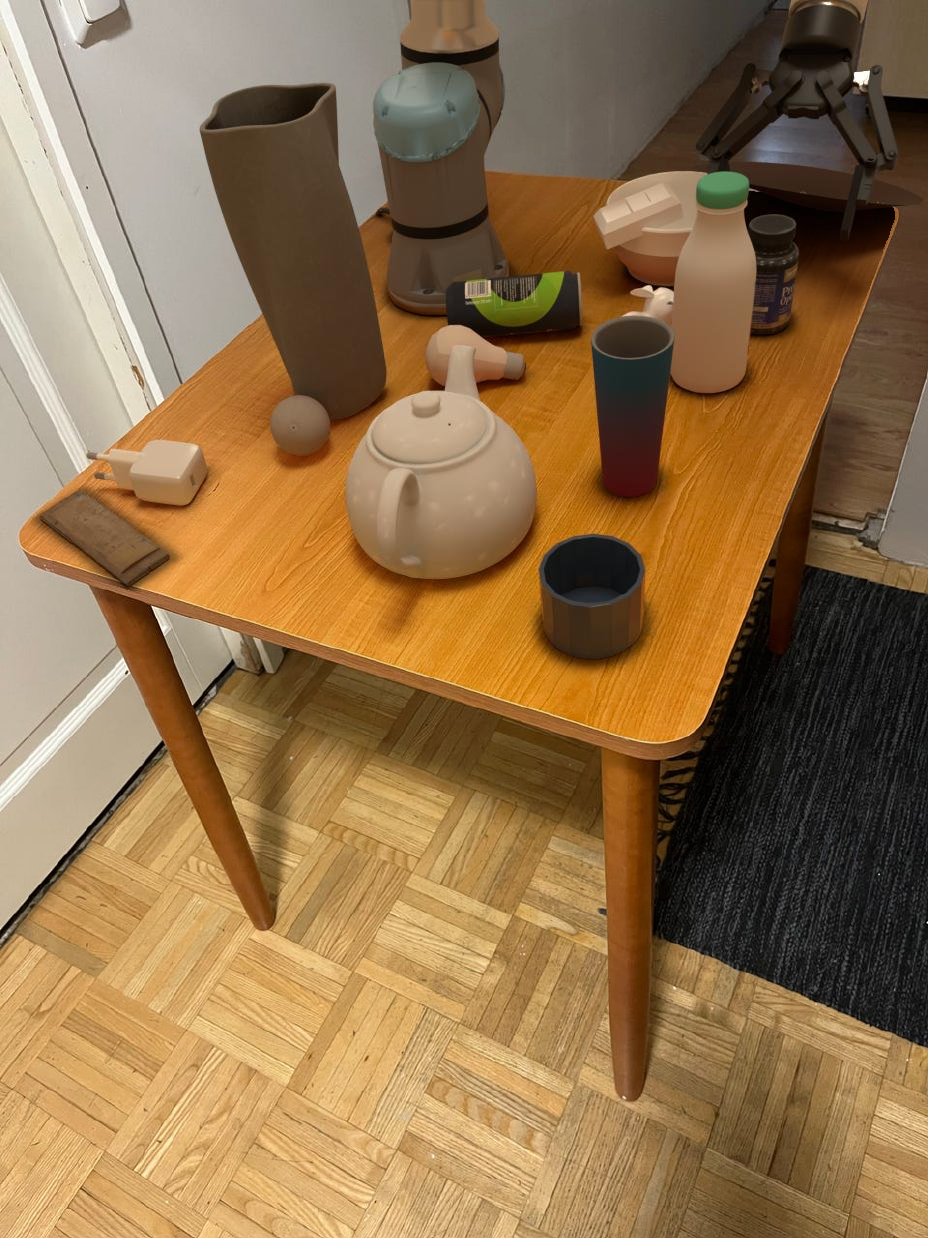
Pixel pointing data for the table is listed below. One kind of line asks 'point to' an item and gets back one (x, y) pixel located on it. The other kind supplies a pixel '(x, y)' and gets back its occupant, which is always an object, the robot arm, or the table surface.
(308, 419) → the ball
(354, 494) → the teapot
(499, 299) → the beverage can
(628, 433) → the cup
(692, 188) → the bowl
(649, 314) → the elephant figurine
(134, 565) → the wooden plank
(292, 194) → the vase
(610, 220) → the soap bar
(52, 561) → the table surface
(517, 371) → the light bulb
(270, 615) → the table surface
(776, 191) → the plate
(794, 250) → the pill bottle
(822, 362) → the table surface
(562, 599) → the cylindrical container
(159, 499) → the power adapter
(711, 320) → the milk bottle
